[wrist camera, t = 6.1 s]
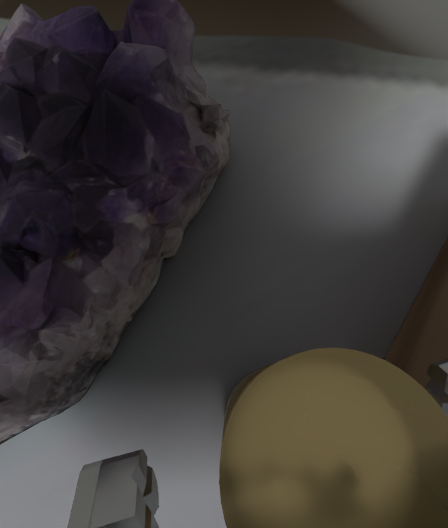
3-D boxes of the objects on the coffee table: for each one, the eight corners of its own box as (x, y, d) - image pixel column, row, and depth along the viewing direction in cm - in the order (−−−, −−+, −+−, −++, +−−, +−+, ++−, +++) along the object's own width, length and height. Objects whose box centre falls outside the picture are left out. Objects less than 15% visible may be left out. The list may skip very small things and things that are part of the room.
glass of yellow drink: (207, 428, 15) (168, 513, 5) (257, 351, 16) (301, 304, 6) (285, 490, 14) (410, 725, 4) (332, 404, 15) (514, 442, 5)
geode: (92, 529, 14) (-309, 832, 4) (-92, 404, 17) (-553, 424, 7) (270, 140, 19) (263, -98, 10) (106, 101, 22) (-19, -107, 13)
